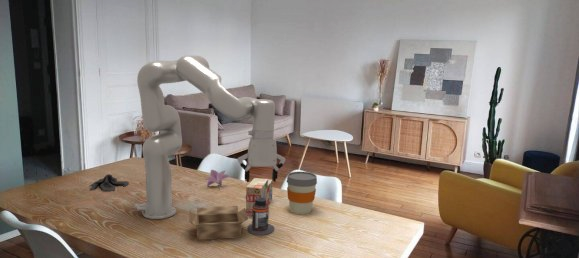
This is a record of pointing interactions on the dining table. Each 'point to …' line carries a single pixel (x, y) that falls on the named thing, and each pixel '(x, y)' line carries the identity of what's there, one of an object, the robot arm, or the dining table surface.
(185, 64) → the robot arm
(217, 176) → the lily
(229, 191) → the dining table surface
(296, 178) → the reusable coffee cup
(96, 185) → the cloth
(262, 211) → the supplement bottle
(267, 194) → the stack of blocks
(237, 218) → the carton
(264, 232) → the coaster
